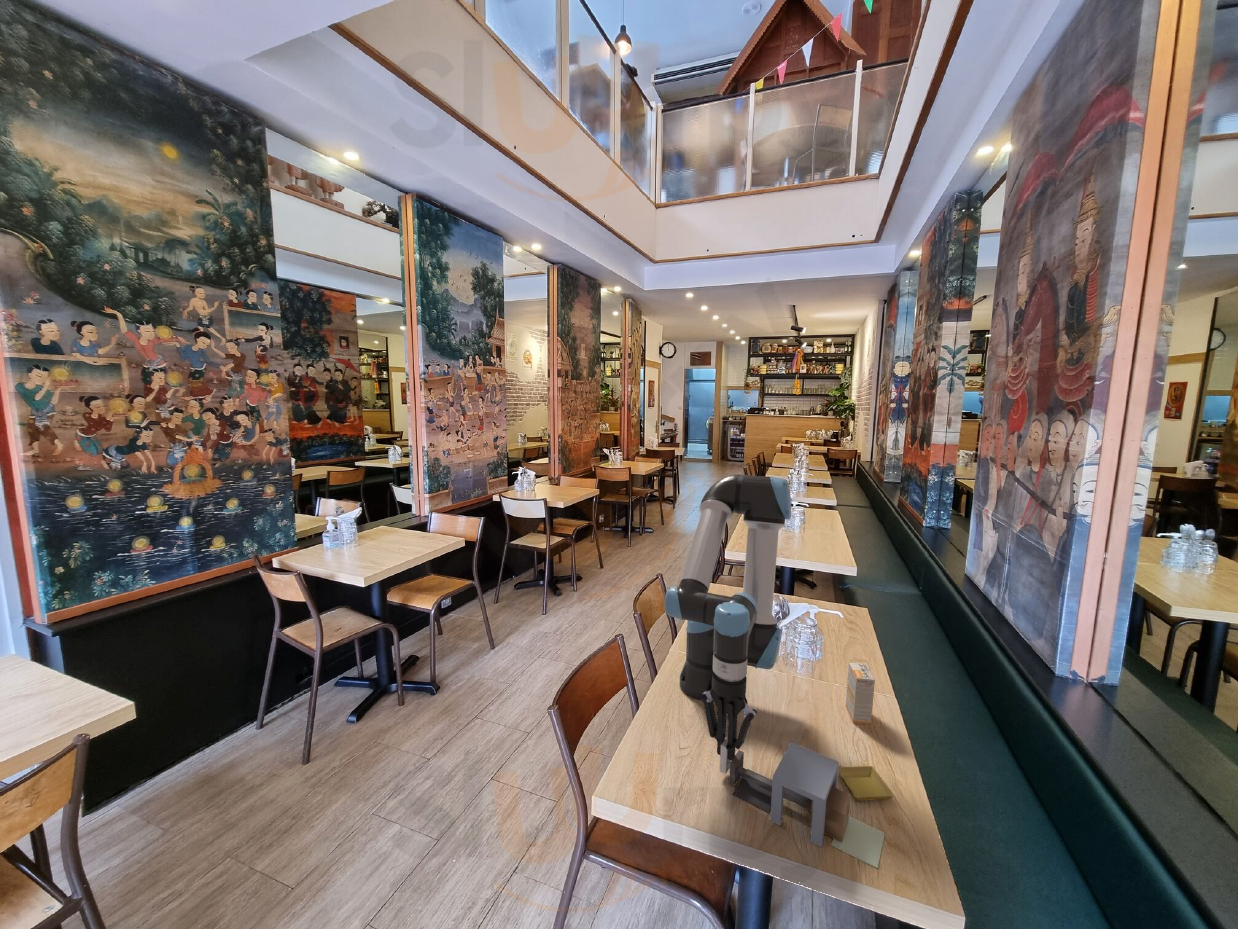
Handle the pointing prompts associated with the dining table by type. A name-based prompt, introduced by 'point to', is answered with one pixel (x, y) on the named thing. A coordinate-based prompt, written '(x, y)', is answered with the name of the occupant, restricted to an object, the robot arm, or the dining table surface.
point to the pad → (861, 842)
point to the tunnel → (804, 784)
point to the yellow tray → (865, 783)
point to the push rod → (801, 798)
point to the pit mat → (753, 794)
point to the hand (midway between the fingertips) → (725, 769)
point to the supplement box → (860, 693)
